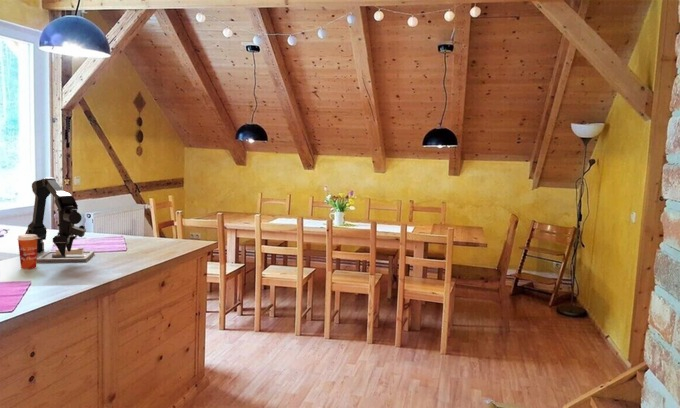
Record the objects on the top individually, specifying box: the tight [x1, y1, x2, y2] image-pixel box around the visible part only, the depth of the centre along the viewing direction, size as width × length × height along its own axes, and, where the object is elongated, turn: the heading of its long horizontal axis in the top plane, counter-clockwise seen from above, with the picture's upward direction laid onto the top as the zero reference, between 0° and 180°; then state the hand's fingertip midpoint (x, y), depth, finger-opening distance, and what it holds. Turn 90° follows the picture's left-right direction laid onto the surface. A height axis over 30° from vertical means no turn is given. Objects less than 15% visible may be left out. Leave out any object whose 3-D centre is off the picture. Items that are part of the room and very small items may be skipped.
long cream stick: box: [52, 247, 85, 257], centre depth 251 cm, size 14×6×4 cm, turn 103°
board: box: [36, 250, 95, 264], centre depth 252 cm, size 22×17×2 cm
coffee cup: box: [16, 233, 38, 270], centre depth 232 cm, size 8×8×15 cm
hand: (66, 253), depth 241 cm, fingers open, 9 cm apart
